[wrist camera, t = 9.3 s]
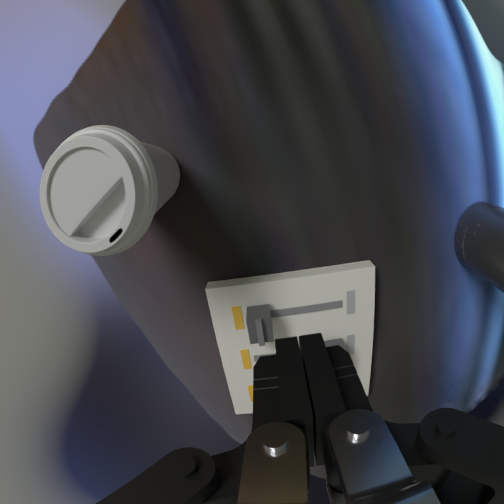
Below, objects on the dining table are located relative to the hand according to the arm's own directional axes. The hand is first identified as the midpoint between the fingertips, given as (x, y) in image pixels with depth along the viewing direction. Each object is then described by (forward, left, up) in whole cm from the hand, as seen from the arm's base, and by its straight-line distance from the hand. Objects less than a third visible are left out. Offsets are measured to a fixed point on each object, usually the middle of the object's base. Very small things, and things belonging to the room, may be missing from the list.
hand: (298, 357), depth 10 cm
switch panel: (-2, +17, -25) cm, 30 cm away
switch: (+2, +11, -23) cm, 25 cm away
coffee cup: (+12, -6, -25) cm, 29 cm away
